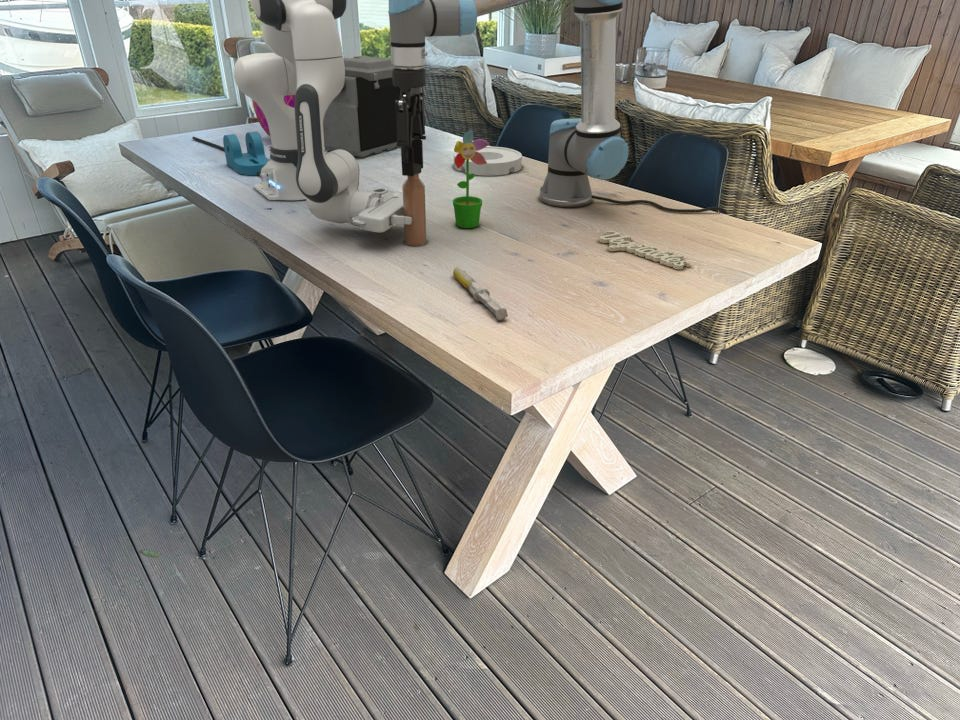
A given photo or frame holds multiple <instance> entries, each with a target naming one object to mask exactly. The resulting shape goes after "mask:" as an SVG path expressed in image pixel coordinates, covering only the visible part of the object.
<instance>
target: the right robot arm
mask: <svg viewBox="0 0 960 720" xmlns="http://www.w3.org/2000/svg"><path fill="white" fill-rule="evenodd" d="M534 1H535V0H388V11H387V12H388V20H389V21H388V22H389V35H390V37H389V38H390V59H391V64H392V66H394V68H393V69H392V81H393V85H394V86H395V87H399V88H400V96H399V100H396V101H395V107H396V123H397V146H396V148H400V157H401V158H400V159H401V175H402V176H405V177H407V176H414V163H416V164H420V165H421V170H422V169H424V149H423V141H425V140H426V139H427V135H426V123H425V122H426V120H425V104H424V103H425V91H420V88H424V87H426V85H427V70H426V68H425V66H426V57H428V51H426V38H432V37H460V38H461V37H463V36H470V35H472V34H473V33H474V32H475V30H476V28H477V24H478V17H482V16H485V15H489V14H492V13H495V12H499V11H503V10H506V9H509V8H513V7H517V6H520V5H524V4H526V3H531V2H534ZM538 1H539V2H540V3H547V2H550V1H552V0H538ZM623 2H624V0H573V14H574V15H575V16H576V17H577V18H578V19H579V24H580V104H581V106H580V108H581V109H580V112H581V117H578V118H576V117H575V118H574V117H573V118H562V119H556V120H553V122H551V124H550V127H549V128H550V129H549V134H548V136H549V141H548V142H549V143H548V156H547V157H548V159H547V173H546V176H545V178H544V181H543V184H542V186H541V187H540V189H539V200H540V202H542V203H543V204H546V205H549V206H553V207H558V208H559V207H560V208H580V207H584V206H588V205H589V204H591V203H592V199H594V200H600V201H604V202H609V203H612V204H617V205H631V204H647V205H652V206H654V207H656V208H658V209H660V210H662V211H667V212H671V213H704V212H709V211H720V212H722V213H723V214H724V215H729V212H728V211H727V210H726V209H724V208H723V207H720V206H709V207H704V208H699V209H698V208H697V209H696V208H695V209H694V208H693V209H691V208H685V209H684V208H672V207H671V208H670V207H666V206H663V205H661V204H659V203H657V202H654V201H651V200H647V199H634V200H616V199H612V198H609V197H603V196H598V195H593V193H592V188H591V184H590V179H589V177H590V178H593V179H597V180H601V181H605V180H610V179H613V178H615V177H616V176H618V174H619V173H620V172H621V170H622V169H624V167H625V166H626V164H627V162H628V158H629V155H630V154H629V153H630V152H629V151H630V149H629V145H628V143H627V142H626V141H625V140H624V138H622V137H621V122H619V121H618V120H617V119H616V118H615V117H616V50H617V49H616V48H617V47H616V46H617V45H616V43H617V42H616V41H617V18H618V15H619V14H620V13H621V12H622V11H623V9H624V8H623V7H624V5H623V4H624V3H623ZM412 139H414V140H412Z"/></svg>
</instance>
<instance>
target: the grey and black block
mask: <svg viewBox="0 0 960 720" xmlns="http://www.w3.org/2000/svg"><path fill="white" fill-rule="evenodd" d="M343 58H344V65H345V82H344V86H343V88H342V90H341V92H340V93H339V94H338V95H337V97H336V98H335V99H334V100H333V101H332V102H331V104H330V105H329V107H328V108H327V110H326V112H325V115H324V119H323V132H324V147H325V151H326V150H327V151H329V152H331V151H334V150H336V149H343V150H346V151H348V152H350V153H351V154H352V155H353V156H354V157H357V158H362V159H363V158H366V157H367V158H368V157H369V155H371V154H375V155H377V154H381V153H382V152H383V151H391V150H395V149H396V148H397V123H396V107H395V101H396V100H399V96H400V88H399V87H395V86H394V85H393V81H392V69H393V68H394V66H392V64H391V58H385V57H377V56H367V55H356V56H353V57H350V58H349V57H343ZM412 140H414V139H412Z"/></svg>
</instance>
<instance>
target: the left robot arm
mask: <svg viewBox="0 0 960 720" xmlns="http://www.w3.org/2000/svg"><path fill="white" fill-rule="evenodd" d="M249 1H250V6H251V8H252V10H253V12H254V14H255V17H256V18H257V19H258V20H259V21H260V22H261V35H262V40H263V42H264V44H265V46H267V48H268V49H269V50H270V51H271V52H260V53H259V52H257V53H252V54H248V55H244V56H240V57H238V58H237V60H236V61H235V64H234V66H233V80H234V82H235V85H236V86H237V88H238V89H239V91H240V92H241V93H242V94H244V95H245V96H247V97H249V98H250V99H251V101H252V100H254V101H255V102H256V103H257V104H258V106H259V107H260V108H261V109H262V111H263V113H264V115H265V117H266V119H267V123H268V127H269V131H270V136H269V137H270V142H271V145H270V146H268V152H269V161H268V162H267V164H266V165H265V166H264V167H263V168H262V169H261V173H260V172H257V175H256V176H258V177H259V178H260V181H261V182H258V183H256V184H255V185H254V189H255V190H256V191H257V192H259V193H260V194H261V195H262V196H264V197H265V198H267V200H269V201H304V200H306V205H307V209H308V211H309V212H310V214H311V215H312V216H314V217H315V218H317V219H319V220H322V221H325V222H330V223H335V224H350V225H352V226H356V227H359V229H361V230H364V231H368V232H372V233H380V234H381V233H385V232H387V231H388V230H389V229H390V228H392V227H393V226H400V225H404V224H408V225H410V224H412V223H413V216H409V215H406V216H404V211H403V192H400V191H389V189H388V188H378V189H374V190H361V189H360V190H359V185H360V165H359V162H358V160H357V158H356V156H353V155H352V154H351V153H350V152H348V151H346V150H343V149H336V150H334V151H329V152H326V149H325V147H324V132H323V119H324V115H325V112H326V110H327V108H328V107H329V105H330V104H331V102H332V101H333V100H334V99H335V98H336V97H337V95H338V94H339V93H340V92H341V90H342V88H343V86H344V82H345V65H344V58H345V57H344V52H343V47H342V41H341V37H340V33H339V30H338V26H337V23H336V20H337V19H340V18H342V17H343V16H344V14H345V12H346V9H347V4H348V3H347V2H348V1H347V0H249ZM286 95H295V108H293V107H290V106H288V105H286V104H285V101H284V96H286ZM192 140H193V141H198V142H200V143H203V144H206V145H208V146H211V147H214V148H216V149H219V150H222V151H223V152H225V150H224V146H221V145H219V144H216V143H213V142H210V141H208V140H205V139H202V138H199V137H196V136H192Z"/></svg>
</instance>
